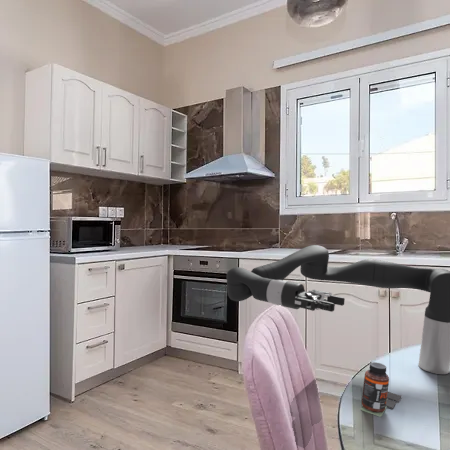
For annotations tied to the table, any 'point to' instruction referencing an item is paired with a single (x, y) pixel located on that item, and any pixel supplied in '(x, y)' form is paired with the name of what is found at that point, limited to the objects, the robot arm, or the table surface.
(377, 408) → the supplement bottle
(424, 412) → the table surface
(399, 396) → the track
